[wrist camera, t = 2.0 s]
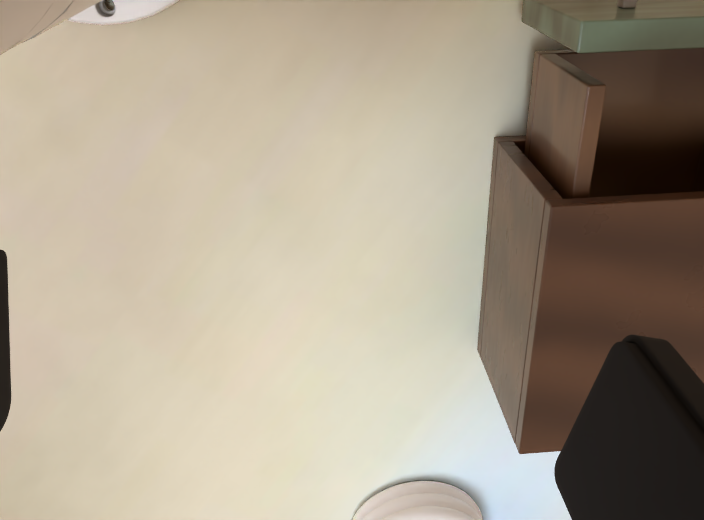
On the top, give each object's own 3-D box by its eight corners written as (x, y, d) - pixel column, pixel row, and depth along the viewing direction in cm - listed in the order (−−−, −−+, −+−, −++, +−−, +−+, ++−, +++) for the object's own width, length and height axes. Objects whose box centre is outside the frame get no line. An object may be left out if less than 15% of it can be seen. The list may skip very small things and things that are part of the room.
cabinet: (494, 137, 36) (551, 206, 28) (721, 125, 36) (841, 190, 28) (477, 349, 42) (518, 454, 34) (668, 337, 43) (753, 437, 35)
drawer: (532, -108, 29) (598, -109, 23) (782, -116, 30) (913, -118, 23) (500, 240, 38) (542, 310, 31) (695, 228, 38) (776, 295, 32)
